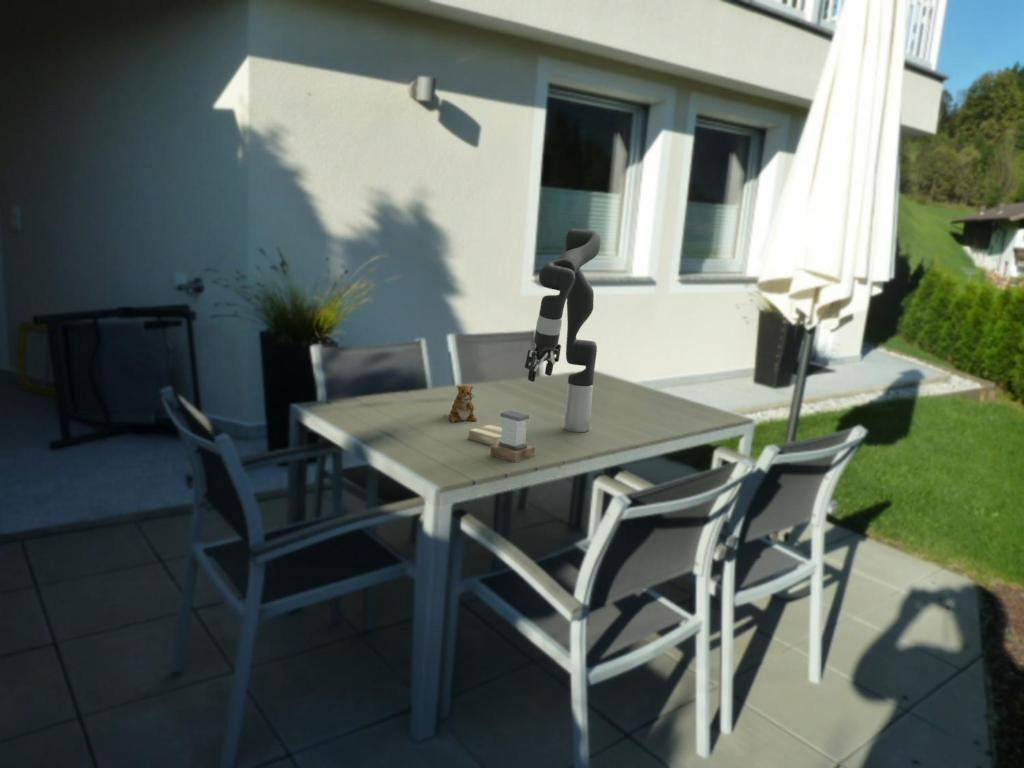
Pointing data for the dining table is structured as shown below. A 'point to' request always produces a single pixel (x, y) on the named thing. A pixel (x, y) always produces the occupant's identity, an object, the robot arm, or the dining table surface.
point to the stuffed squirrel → (463, 405)
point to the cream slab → (486, 434)
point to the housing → (513, 430)
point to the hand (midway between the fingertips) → (539, 377)
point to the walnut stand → (512, 453)
